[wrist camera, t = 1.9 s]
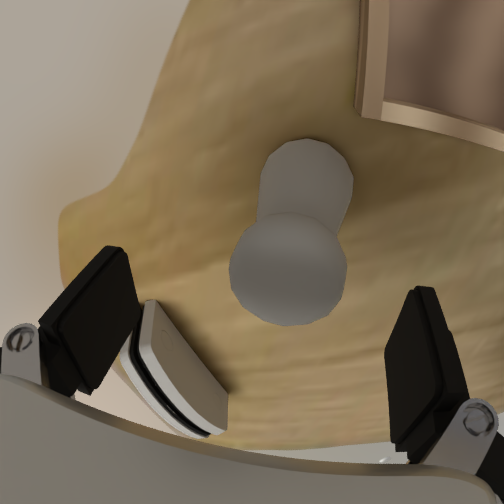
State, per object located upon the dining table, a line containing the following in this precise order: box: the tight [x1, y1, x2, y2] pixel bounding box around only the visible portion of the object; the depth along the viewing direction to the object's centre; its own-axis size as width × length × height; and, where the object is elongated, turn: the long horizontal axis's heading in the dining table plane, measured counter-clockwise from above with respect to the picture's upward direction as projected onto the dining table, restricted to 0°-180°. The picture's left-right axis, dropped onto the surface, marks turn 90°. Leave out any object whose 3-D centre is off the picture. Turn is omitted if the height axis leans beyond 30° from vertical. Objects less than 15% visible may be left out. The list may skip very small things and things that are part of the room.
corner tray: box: [354, 0, 504, 152], centre depth 12 cm, size 11×11×5 cm
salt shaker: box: [229, 138, 354, 326], centre depth 16 cm, size 6×6×13 cm
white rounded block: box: [120, 300, 228, 439], centre depth 32 cm, size 17×5×10 cm, turn 25°
